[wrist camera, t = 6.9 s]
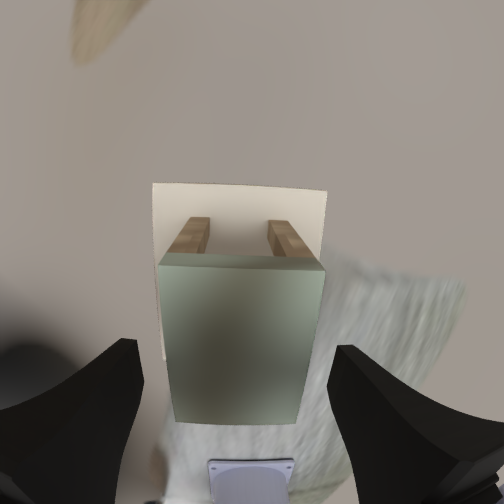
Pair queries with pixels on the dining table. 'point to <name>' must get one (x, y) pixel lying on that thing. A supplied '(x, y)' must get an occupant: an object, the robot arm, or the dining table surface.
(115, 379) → the robot arm
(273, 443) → the dining table surface
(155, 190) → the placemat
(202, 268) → the board with wooden rails
